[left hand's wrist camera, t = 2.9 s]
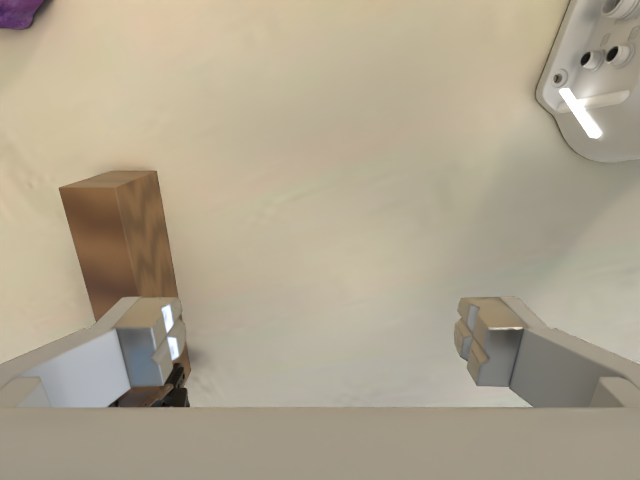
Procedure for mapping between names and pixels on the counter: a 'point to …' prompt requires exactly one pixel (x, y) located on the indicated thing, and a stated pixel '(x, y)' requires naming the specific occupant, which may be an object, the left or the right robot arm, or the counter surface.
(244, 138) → the counter surface
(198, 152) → the counter surface
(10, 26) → the figurine
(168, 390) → the right robot arm
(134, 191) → the bar
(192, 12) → the counter surface
